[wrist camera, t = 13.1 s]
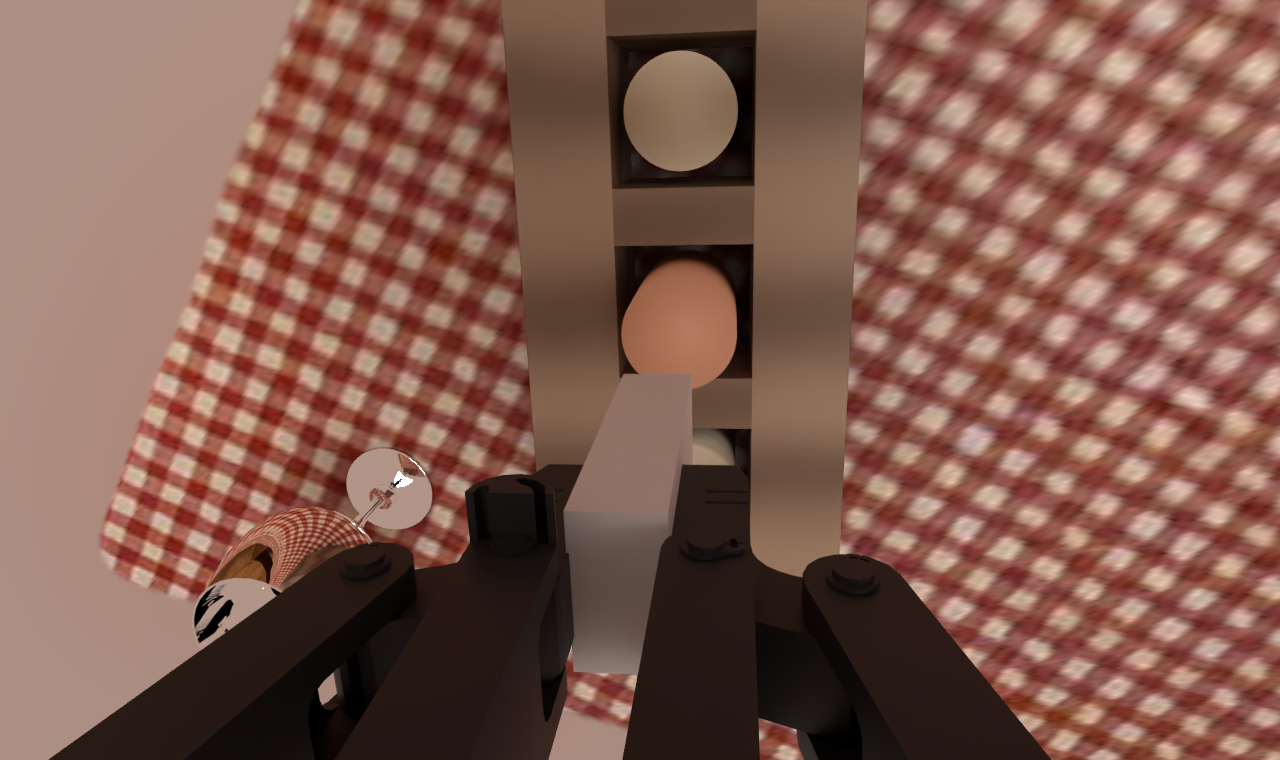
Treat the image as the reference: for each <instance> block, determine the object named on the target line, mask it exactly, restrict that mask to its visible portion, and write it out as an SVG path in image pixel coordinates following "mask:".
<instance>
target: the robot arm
mask: <svg viewBox="0 0 1280 760" xmlns="http://www.w3.org/2000/svg"><path fill="white" fill-rule="evenodd" d="M465 497H466V507H467V516H468V526H469V535H470V544H469V545H468V547H467V548H466V550H465V552H464V553H463V555H462V556H461V558H460V560H459V561H458V562H457V563H453V564H448V565H443V566H436V567H429V568H423V569H416V570H415V566H414V558H413V554H412V553H411V552H410V551H409V550H408V549H407V548H406V547H403V546H400V545H398V544H395V543H381V542H371V543H370V544H368V543H364V544H359V545H357V546H356V547H353V548H350V549H347V550H343V551H341V552H340V553H338V554H336V555H334V556H332V557H330V558H329V559H327V560H326V561H324V562H323V563H322V564H320V565H319V566H318V567H316V568H315V569H313V570H312V571H311V572H309V573H308V574H306V575H305V576H304V577H302V578H301V579H299V580H298V581H297V582H295V583H294V584H292V585H291V586H290V587H288V588H287V589H285V590H284V591H283V592H281V593H280V594H279V595H277V596H276V597H274V598H273V599H272V600H270V601H269V602H267V603H266V604H265V605H263V606H262V607H260V608H259V609H258V610H256V611H255V612H253V613H252V614H251V615H249V616H248V617H246V618H245V619H244V620H242V621H241V622H240V623H238V624H237V625H235V626H234V627H233V628H231V629H230V630H228V631H227V632H226V633H224V634H223V635H221V636H220V637H219V638H217V639H216V640H214V641H213V642H212V643H210V644H209V645H207V646H206V647H205V648H203V649H202V650H201V651H199V652H198V653H196V654H195V655H194V656H192V657H191V658H189V659H188V660H187V661H185V662H184V663H183V664H181V665H180V666H178V667H177V668H176V669H174V670H173V671H171V672H170V673H169V674H167V675H166V676H164V677H163V678H162V679H160V680H159V681H157V682H156V683H155V684H153V685H152V686H151V687H149V688H148V689H146V690H145V691H144V692H142V693H141V694H139V695H138V696H136V697H135V698H134V699H132V700H131V701H130V702H128V703H127V704H125V705H124V706H123V707H121V708H120V709H118V710H117V711H116V712H114V713H113V714H111V715H110V716H109V717H107V718H106V719H105V720H103V721H102V722H100V723H99V724H98V725H96V726H95V727H93V728H92V729H91V730H89V731H88V732H86V733H85V734H84V735H82V736H81V737H79V738H78V739H77V740H75V741H74V742H73V743H71V744H70V745H68V746H67V747H66V748H64V749H63V750H61V751H60V752H59V753H57V754H56V755H54V756H53V757H52V758H50V759H49V760H548V759H549V755H550V752H551V749H552V745H553V742H554V738H555V735H556V731H557V728H558V724H559V721H560V717H561V714H562V710H563V707H564V703H565V700H566V697H567V672H566V661H567V658H568V655H569V652H570V649H571V645H572V652H573V667H574V672H590V673H611V674H631V675H638V676H637V682H636V688H635V693H634V699H633V704H632V710H631V715H630V721H629V726H628V732H627V738H626V744H625V749H624V754H623V760H760V753H759V724H758V718H761V719H765V720H768V721H771V722H774V723H778V724H781V725H784V726H787V727H791V728H794V729H797V739H798V745H799V748H800V751H801V753H802V755H803V758H804V760H1051V759H1050V757H1049V756H1048V755H1047V754H1046V753H1045V751H1044V750H1043V749H1042V748H1041V746H1040V745H1039V744H1038V743H1037V741H1036V740H1035V739H1034V738H1033V737H1032V735H1031V734H1030V733H1029V732H1028V730H1027V729H1026V728H1025V727H1024V726H1023V724H1022V723H1021V722H1020V721H1019V719H1018V718H1017V717H1016V716H1015V715H1014V713H1013V712H1012V711H1011V710H1010V708H1009V707H1008V706H1007V705H1006V704H1005V702H1004V701H1003V700H1002V699H1001V697H1000V696H999V695H998V694H997V692H996V691H995V690H994V689H993V688H992V686H991V685H990V684H989V683H988V681H987V680H986V679H985V678H984V677H983V675H982V674H981V673H980V672H979V670H978V669H977V668H976V667H975V666H974V664H973V663H972V662H971V661H970V659H969V658H968V657H967V656H966V654H965V653H964V652H963V651H962V650H961V648H960V647H959V646H958V645H957V643H956V642H955V641H954V640H953V639H952V637H951V636H950V635H949V634H948V632H947V631H946V630H945V629H944V628H943V626H942V625H941V624H940V623H939V621H938V620H937V619H936V618H935V617H934V615H933V614H932V613H931V612H930V610H929V609H928V608H927V607H926V605H925V604H924V603H923V602H922V601H921V599H920V598H919V597H918V596H917V594H916V593H915V592H914V591H913V590H912V588H911V587H910V586H909V585H908V583H907V582H906V581H905V580H904V579H903V577H902V576H901V575H900V574H899V573H898V572H896V571H895V570H894V569H893V568H892V567H890V566H889V565H887V564H885V563H882V562H880V561H878V560H875V559H873V558H870V557H867V556H863V555H862V556H859V555H857V554H846V555H845V554H835V555H830V556H826V557H821V558H818V559H816V560H815V561H813V562H811V563H809V564H808V565H807V567H806V568H805V570H804V572H803V575H802V577H799V576H794V575H790V574H787V573H783V572H780V571H777V570H775V569H773V568H771V567H768V566H766V565H765V564H764V563H762V562H761V561H760V560H758V559H757V557H756V556H755V555H754V554H753V551H752V548H751V542H750V514H749V487H748V477H747V476H746V475H745V474H744V473H743V472H742V471H741V470H740V469H739V468H738V467H737V466H736V465H693V448H692V374H623V377H622V379H621V381H620V384H619V386H618V388H617V390H616V393H615V395H614V397H613V399H612V402H611V404H610V406H609V409H608V411H607V413H606V415H605V418H604V420H603V422H602V424H601V427H600V429H599V431H598V434H597V436H596V438H595V440H594V443H593V445H592V447H591V449H590V452H589V454H588V456H587V459H586V461H585V463H584V465H574V464H548V465H546V466H545V467H543V468H542V469H540V470H539V471H537V472H536V473H534V474H533V475H524V474H514V475H502V476H498V477H493V478H489V479H486V480H483V481H481V482H479V483H476V484H474V485H473V486H472V487H470V488H469V489H468V490H467V491H466V492H465ZM333 672H334V678H335V684H336V689H337V694H336V695H335V696H334V697H333V698H332V699H331V700H330V701H329V702H327V703H325V704H324V705H322V704H321V702H320V699H319V693H318V688H319V687H320V685H321V684H322V683H323V681H324V680H325V679H326V678H327V677H329V676H330V675H331V674H332V673H333Z"/></svg>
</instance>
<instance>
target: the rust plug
mask: <svg viewBox="0 0 1280 760" xmlns="http://www.w3.org/2000/svg"><path fill="white" fill-rule="evenodd" d="M621 336H622V344H623V348H624V351H625V354H626V357H627V358H628V360H629V362H630V364H631V365H632V367H633V368H634V369H635V370H636V371H637V372H638V373H639V374H692V389H695V388H698V387H701V386H703V385H705V384H707V383H709V382H711V381H712V380H714V379H715V378H716V377H718V376H719V375H720V374H721V373H722V372H723V371H724V370H725V368H726V367H727V365H728V364H729V362H730V360H731V358H732V356H733V354H734V351H735V347H736V341H737V317H736V290H735V285H734V282H733V279H732V277H731V275H730V274H729V272H728V271H727V269H726V268H725V267H724V266H723V265H722V264H721V263H720V262H719V261H718V260H717V259H715V258H714V257H712V256H710V255H708V254H705V253H702V252H699V251H691V250H685V251H678V252H674V253H671V254H669V255H667V256H665V257H663V258H662V259H660V260H659V261H658V262H657V263H655V264H654V265H653V267H652V268H651V269H650V270H649V272H648V273H647V275H646V277H645V279H644V280H643V282H642V284H641V286H640V287H639V289H638V291H637V293H636V294H635V296H634V298H633V300H632V301H631V303H630V305H629V307H628V309H627V311H626V313H625V316H624V319H623V323H622V334H621Z"/></svg>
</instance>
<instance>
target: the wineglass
mask: <svg viewBox="0 0 1280 760" xmlns="http://www.w3.org/2000/svg"><path fill="white" fill-rule="evenodd" d="M346 489H347V493H348V497H349V499H350V501H351V503H352V505H353V507H354V508H355V510H356V511H357V512H358V513H359V515H358V516H356V517H355V518H353V519H350V518H349V517H347V516H345V515H343V514H341V513H339V512H337V511H333V510H330V509H327V508H321V507H298V508H292V509H288V510H285V511H282V512H279V513H277V514H275V515H273V516H271V517H269V518H267V519H265V520H264V521H262V522H261V523H259V524H258V525H256V526H255V527H254V528H252V529H251V530H250V531H249V532H248V533H247V534H246V535H244V536H243V537H242V538H241V539H240V540H239V541H238V542H237V544H236V545H235V546H234V547H233V548H232V549H231V550H230V551H229V552H228V554H227V555H226V556H225V557H224V559H223V560H222V561H221V563H220V564H219V565H218V567H217V568H216V570H215V571H214V573H213V574H212V576H211V577H210V579H209V580H208V582H207V584H206V585H205V587H204V589H203V591H202V592H201V594H200V596H199V598H198V600H197V602H196V603H195V605H194V610H193V615H192V628H193V633H194V637H195V640H196V642H197V644H198V646H199V648H200V650H202V649H203V648H205V647H206V646H207V645H209V644H210V643H212V642H213V641H214V640H216V639H217V638H219V637H220V636H221V635H223V634H224V633H226V632H227V631H228V630H230V629H231V628H233V627H234V626H235V625H237V624H238V623H240V622H241V621H242V620H244V619H245V618H246V617H248V616H249V615H251V614H252V613H253V612H255V611H256V610H258V609H259V608H260V607H262V606H263V605H265V604H266V603H267V602H269V601H270V600H272V599H273V598H274V597H276V596H277V595H279V594H280V593H281V592H283V591H284V590H285V589H287V588H288V587H290V586H291V585H292V584H294V583H295V582H297V581H298V580H299V579H301V578H302V577H304V576H305V575H306V574H308V573H309V572H311V571H312V570H313V569H315V568H316V567H318V566H319V565H320V564H322V563H323V562H324V561H326V560H327V559H329V558H330V557H332V556H334V555H336V554H338V553H340V552H341V551H343V550H347V549H350V548H353V547H356V546H357V545H359V544H364V543H368V544H370V543H371V542H372V540H371V539H370V537H369V536H368V535H367V533H366V532H365V531H364V530H363V527H364V525H365V523H366V522H367V521H368V522H370V523H372V524H374V525H376V526H378V527H381V528H384V529H390V530H401V529H406V528H409V527H412V526H414V525H416V524H418V523H419V522H420V521H421V520H423V519H424V518H425V516H426V515H427V514H428V512H429V510H430V508H431V505H432V501H433V489H432V485H431V481H430V479H429V477H428V475H427V473H426V471H425V470H424V468H423V467H422V466H421V465H420V464H419V463H418V462H417V461H416V460H415V459H414V458H412V457H411V456H409V455H408V454H406V453H404V452H401V451H398V450H395V449H390V448H376V449H372V450H369V451H366V452H364V453H363V454H361V455H360V456H358V457H357V458H356V459H355V460H354V462H353V463H352V464H351V466H350V468H349V470H348V473H347V478H346Z"/></svg>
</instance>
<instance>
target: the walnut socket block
mask: <svg viewBox="0 0 1280 760" xmlns="http://www.w3.org/2000/svg"><path fill="white" fill-rule="evenodd" d="M501 7H502V20H503V34H504V47H505V60H506V73H507V87H508V100H509V113H510V127H511V140H512V153H513V167H514V180H515V193H516V207H517V220H518V233H519V247H520V260H521V273H522V287H523V300H524V313H525V327H526V340H527V353H528V367H529V380H530V393H531V407H532V420H533V433H534V447H535V460H536V472H537V471H539V470H540V469H542V468H543V467H545V466H546V465H548V464H574V465H584V463H585V461H586V459H587V456H588V454H589V452H590V449H591V447H592V445H593V443H594V440H595V438H596V436H597V434H598V431H599V429H600V427H601V424H602V422H603V420H604V418H605V415H606V413H607V411H608V409H609V406H610V404H611V402H612V399H613V397H614V395H615V393H616V390H617V388H618V386H619V384H620V381H621V379H622V377H623V374H639V373H638V372H637V371H636V370H635V369H634V368H633V367H632V365H631V364H630V362H629V360H628V358H627V357H626V354H625V351H624V348H623V344H622V336H621V334H622V323H623V319H624V316H625V313H626V311H627V309H628V307H629V305H630V303H631V301H632V300H633V298H634V296H635V294H636V286H635V255H634V246H655V245H724V244H750V298H749V338H737V341H736V347H735V351H734V354H733V356H732V358H731V360H730V362H729V364H728V365H727V367H726V368H725V370H724V371H723V372H722V373H721V374H720V375H719V376H718V377H716V378H715V379H714V380H712V381H711V382H709V383H707V384H705V385H703V386H701V387H698V388H695V389H692V428H726V429H748V471H747V477H748V487H749V514H750V542H751V548H752V551H753V554H754V555H755V556H756V557H757V559H758V560H760V561H761V562H762V563H764V564H765V565H766V566H768V567H771V568H773V569H775V570H777V571H780V572H783V573H787V574H790V575H794V576H799V577H802V575H803V572H804V570H805V568H806V567H807V565H808V564H809V563H811V562H813V561H815V560H816V559H818V558H821V557H826V556H830V555H835V554H839V550H840V530H841V511H842V491H843V471H844V452H845V432H846V413H847V393H848V373H849V354H850V334H851V314H852V295H853V275H854V255H855V236H856V216H857V196H858V177H859V157H860V137H861V118H862V98H863V78H864V59H865V39H866V20H867V0H501ZM748 46H752V124H751V176H709V177H668V178H632V161H631V141H630V139H629V137H628V134H627V131H626V127H625V123H624V101H625V96H626V93H627V90H628V87H629V67H628V52H629V51H653V50H677V49H701V48H725V47H748Z"/></svg>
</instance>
